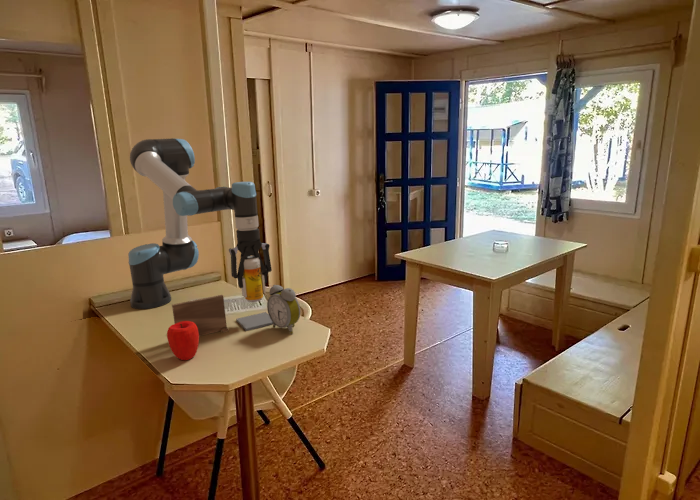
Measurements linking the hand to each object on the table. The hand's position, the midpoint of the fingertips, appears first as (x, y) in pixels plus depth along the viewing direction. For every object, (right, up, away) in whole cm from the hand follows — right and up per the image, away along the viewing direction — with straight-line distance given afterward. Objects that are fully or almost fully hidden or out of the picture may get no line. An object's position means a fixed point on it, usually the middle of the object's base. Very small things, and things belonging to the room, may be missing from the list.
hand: (254, 294), depth 157 cm
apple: (-15, -17, -22) cm, 32 cm away
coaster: (0, -10, +2) cm, 10 cm away
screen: (-16, -13, -6) cm, 21 cm away
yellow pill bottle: (0, -2, 0) cm, 2 cm away
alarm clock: (+12, -11, -4) cm, 17 cm away
